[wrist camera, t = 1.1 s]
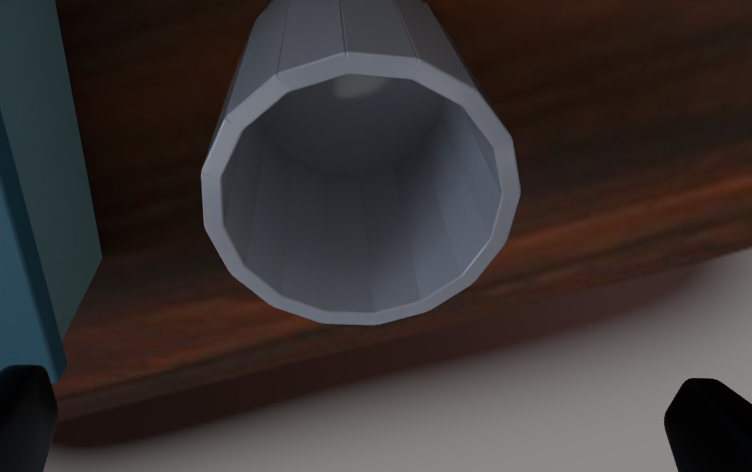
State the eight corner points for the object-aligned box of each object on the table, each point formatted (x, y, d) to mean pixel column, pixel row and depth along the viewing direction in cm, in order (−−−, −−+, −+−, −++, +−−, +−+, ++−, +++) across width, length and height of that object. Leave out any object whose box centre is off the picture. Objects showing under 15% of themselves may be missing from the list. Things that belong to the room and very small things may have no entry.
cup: (434, 183, 20) (481, 329, 14) (242, 171, 19) (209, 321, 13) (474, -17, 16) (558, 70, 11) (238, -43, 15) (191, 37, 10)
